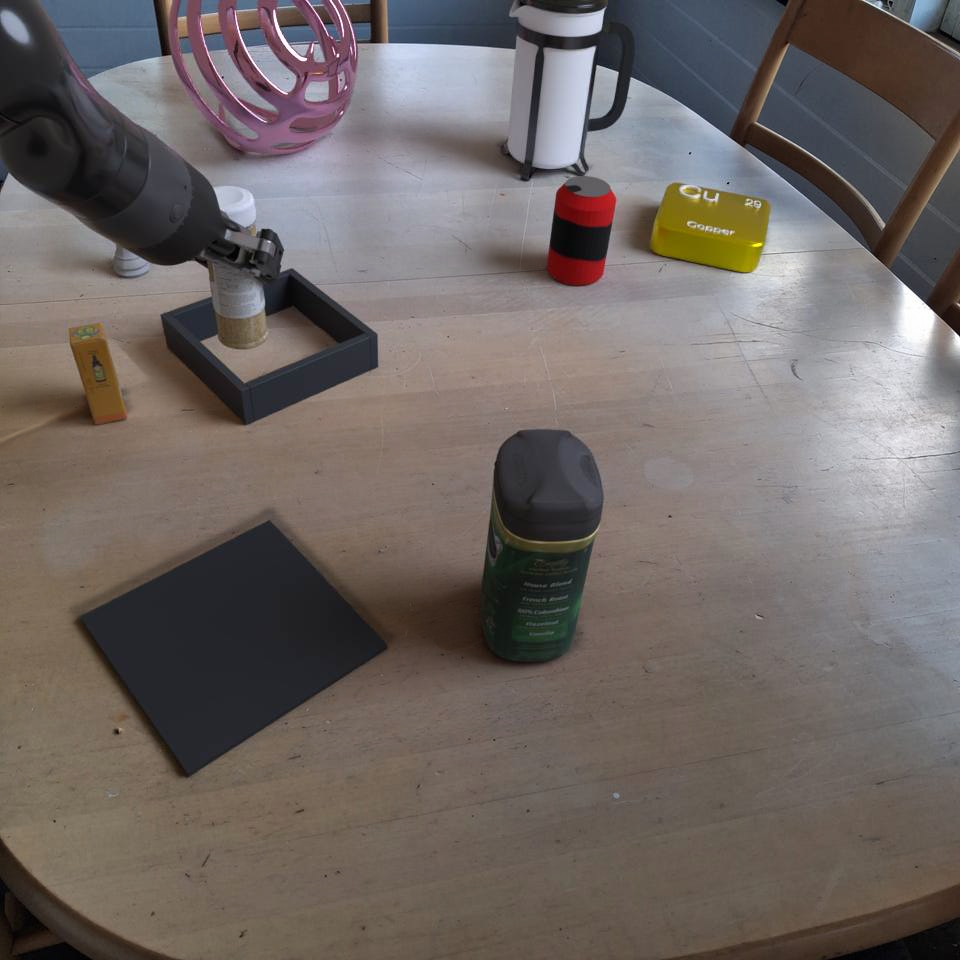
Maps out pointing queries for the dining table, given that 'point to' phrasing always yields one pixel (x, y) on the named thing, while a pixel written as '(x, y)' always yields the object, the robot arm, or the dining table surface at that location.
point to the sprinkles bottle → (238, 282)
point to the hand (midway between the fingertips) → (246, 267)
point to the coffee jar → (539, 543)
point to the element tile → (711, 227)
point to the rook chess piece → (129, 263)
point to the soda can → (581, 230)
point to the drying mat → (230, 643)
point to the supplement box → (97, 373)
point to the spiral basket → (288, 104)
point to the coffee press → (560, 81)
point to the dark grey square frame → (291, 380)
